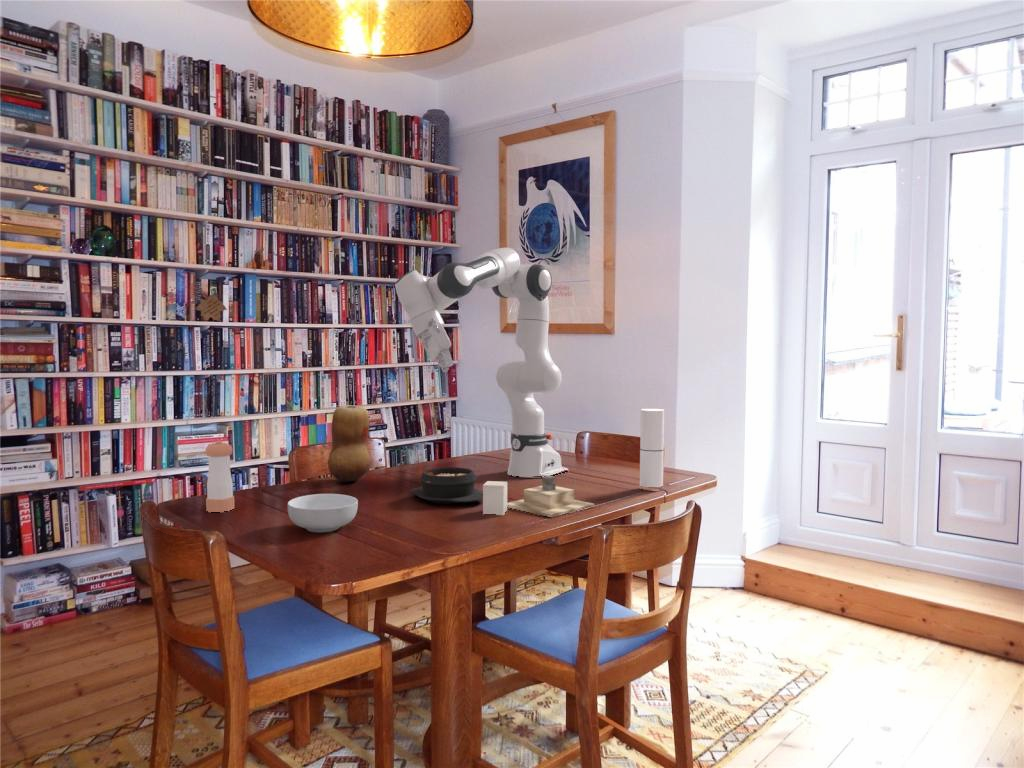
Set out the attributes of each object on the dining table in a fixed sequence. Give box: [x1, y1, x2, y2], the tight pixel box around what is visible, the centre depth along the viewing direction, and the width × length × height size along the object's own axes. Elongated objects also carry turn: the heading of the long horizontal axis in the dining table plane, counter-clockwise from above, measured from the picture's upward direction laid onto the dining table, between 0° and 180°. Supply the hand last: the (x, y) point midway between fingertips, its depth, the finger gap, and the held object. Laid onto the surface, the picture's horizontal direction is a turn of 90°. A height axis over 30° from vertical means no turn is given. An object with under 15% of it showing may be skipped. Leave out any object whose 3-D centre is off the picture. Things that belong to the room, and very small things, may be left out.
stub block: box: [507, 476, 595, 518], centre depth 208 cm, size 18×18×8 cm
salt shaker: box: [204, 440, 236, 513], centre depth 204 cm, size 7×7×19 cm
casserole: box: [409, 466, 483, 505], centre depth 218 cm, size 25×19×8 cm
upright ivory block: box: [482, 480, 508, 516], centre depth 202 cm, size 6×6×8 cm
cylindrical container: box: [639, 408, 665, 487], centre depth 232 cm, size 7×7×25 cm
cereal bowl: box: [287, 493, 359, 533], centre depth 185 cm, size 17×17×7 cm
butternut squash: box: [327, 404, 371, 483], centre depth 243 cm, size 14×13×25 cm
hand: (448, 368), depth 213 cm, fingers open, 8 cm apart
